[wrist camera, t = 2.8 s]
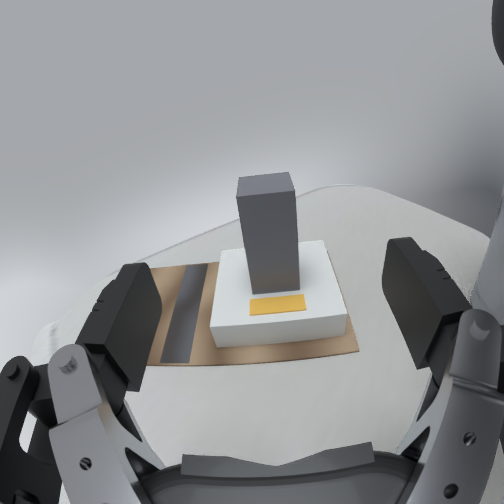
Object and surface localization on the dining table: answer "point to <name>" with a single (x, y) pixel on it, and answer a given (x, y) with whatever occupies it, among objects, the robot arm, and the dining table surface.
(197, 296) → the subfloor panel
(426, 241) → the dining table surface
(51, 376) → the robot arm
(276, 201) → the block on square base
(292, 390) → the dining table surface
